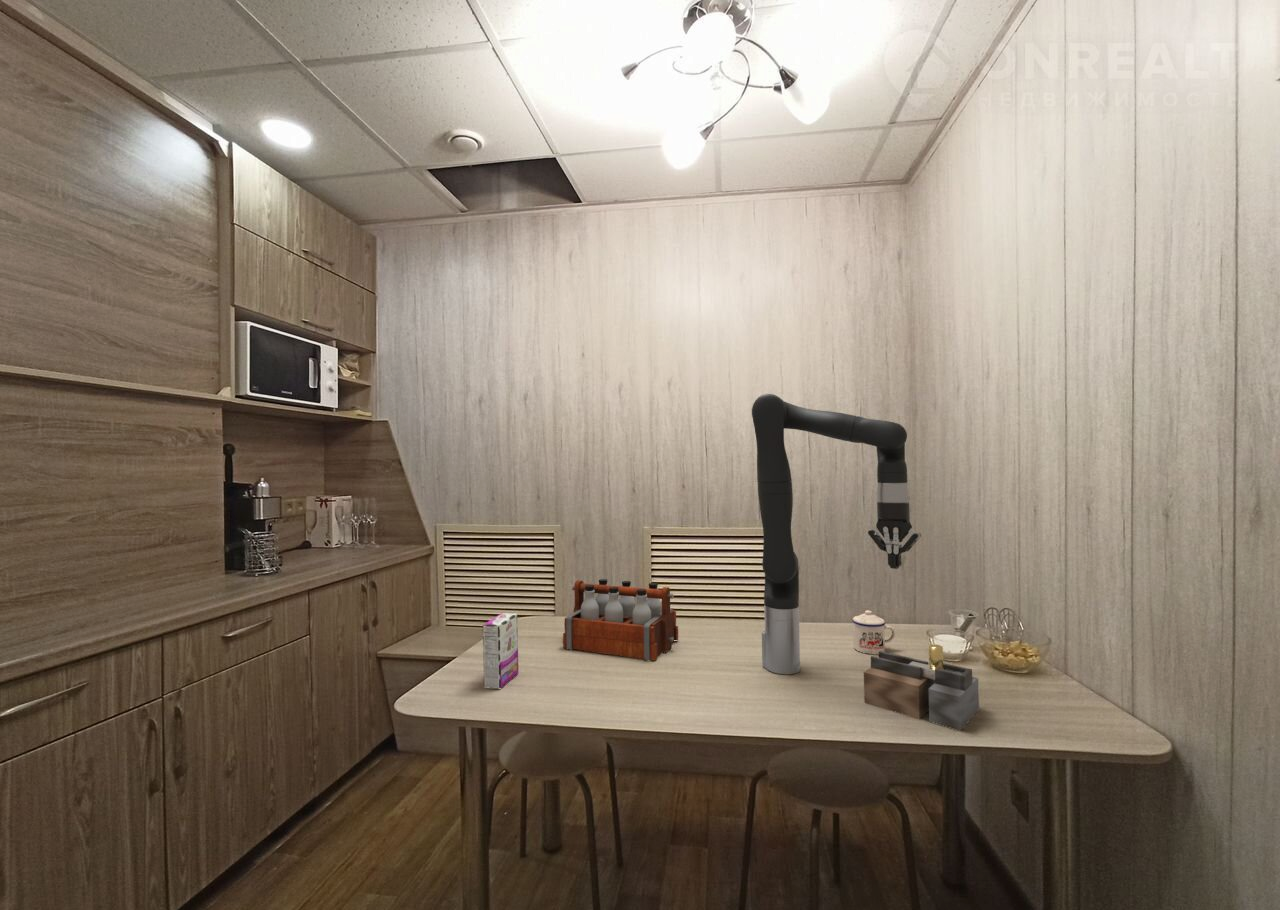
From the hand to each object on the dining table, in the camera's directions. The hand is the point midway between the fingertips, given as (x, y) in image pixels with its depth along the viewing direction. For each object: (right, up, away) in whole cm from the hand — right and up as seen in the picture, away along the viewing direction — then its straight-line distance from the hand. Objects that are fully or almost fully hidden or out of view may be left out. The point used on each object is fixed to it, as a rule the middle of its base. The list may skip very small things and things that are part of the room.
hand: (894, 568), depth 138 cm
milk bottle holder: (-71, -31, +32) cm, 84 cm away
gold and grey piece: (+1, -22, -16) cm, 27 cm away
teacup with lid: (+5, -30, +24) cm, 38 cm away
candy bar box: (-102, -31, +4) cm, 106 cm away
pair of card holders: (0, -29, -15) cm, 32 cm away
